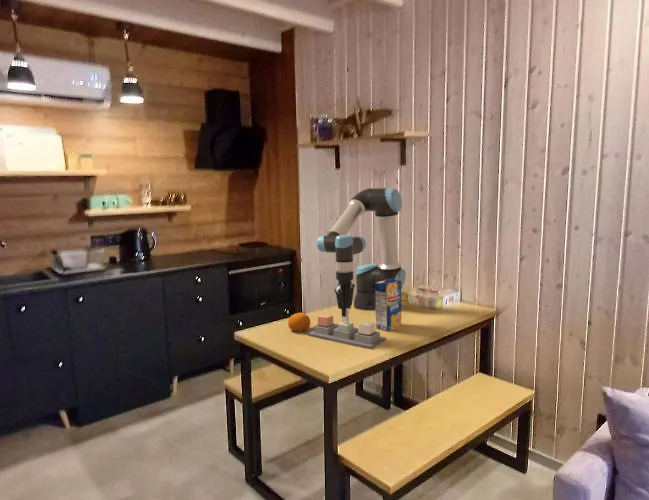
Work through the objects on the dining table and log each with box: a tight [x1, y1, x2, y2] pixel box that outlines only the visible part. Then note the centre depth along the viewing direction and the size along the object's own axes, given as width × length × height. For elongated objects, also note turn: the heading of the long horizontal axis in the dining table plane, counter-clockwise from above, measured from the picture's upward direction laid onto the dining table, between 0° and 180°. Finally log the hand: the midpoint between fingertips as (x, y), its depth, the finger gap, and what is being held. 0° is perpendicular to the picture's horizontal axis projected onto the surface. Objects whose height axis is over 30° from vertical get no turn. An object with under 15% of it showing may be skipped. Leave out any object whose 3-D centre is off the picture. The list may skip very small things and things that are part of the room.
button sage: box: [337, 321, 355, 332], centre depth 217 cm, size 5×5×4 cm
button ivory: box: [358, 320, 376, 335], centre depth 210 cm, size 5×5×4 cm
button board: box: [307, 322, 387, 350], centre depth 217 cm, size 13×33×4 cm, turn 54°
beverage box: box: [374, 279, 402, 332], centre depth 229 cm, size 7×11×22 cm, turn 135°
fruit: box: [287, 312, 311, 332], centre depth 230 cm, size 10×10×8 cm
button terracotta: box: [317, 313, 334, 327], centre depth 223 cm, size 5×5×4 cm
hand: (345, 322), depth 217 cm, fingers closed
